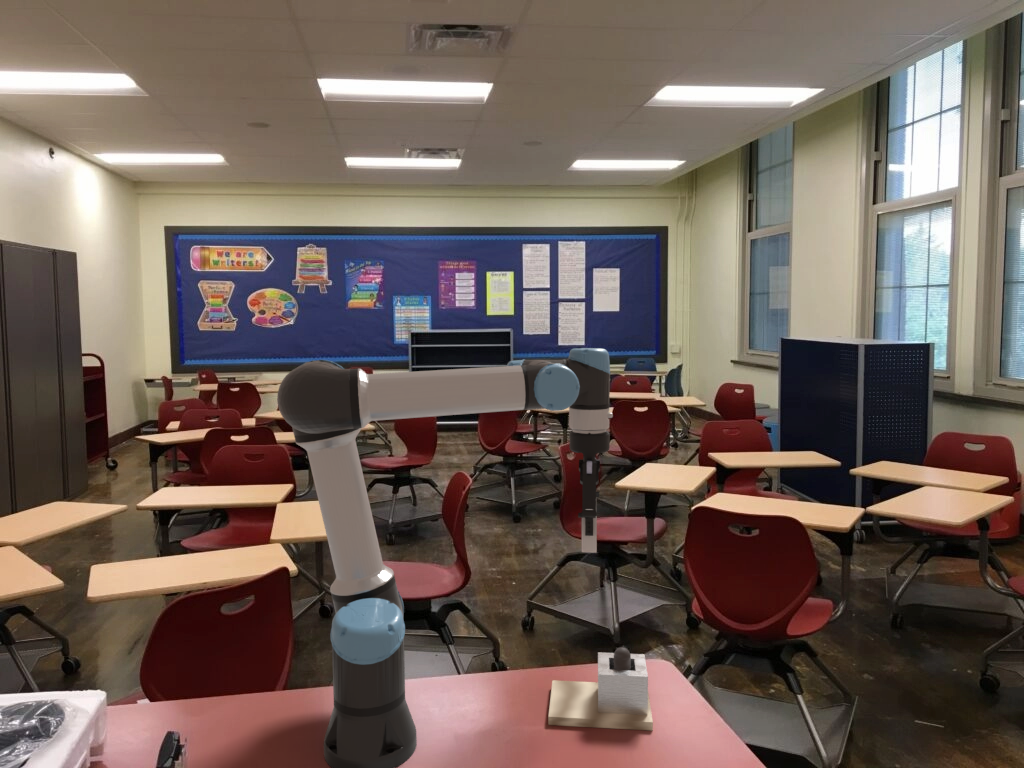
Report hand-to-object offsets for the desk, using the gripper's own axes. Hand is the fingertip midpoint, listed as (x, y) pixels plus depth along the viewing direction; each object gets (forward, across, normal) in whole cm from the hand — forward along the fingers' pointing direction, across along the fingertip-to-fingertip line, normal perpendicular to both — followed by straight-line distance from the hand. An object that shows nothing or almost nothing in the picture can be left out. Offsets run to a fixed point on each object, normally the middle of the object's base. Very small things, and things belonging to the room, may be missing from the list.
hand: (589, 540), depth 138 cm
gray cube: (+27, -8, -6) cm, 29 cm away
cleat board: (+29, -8, -2) cm, 30 cm away
